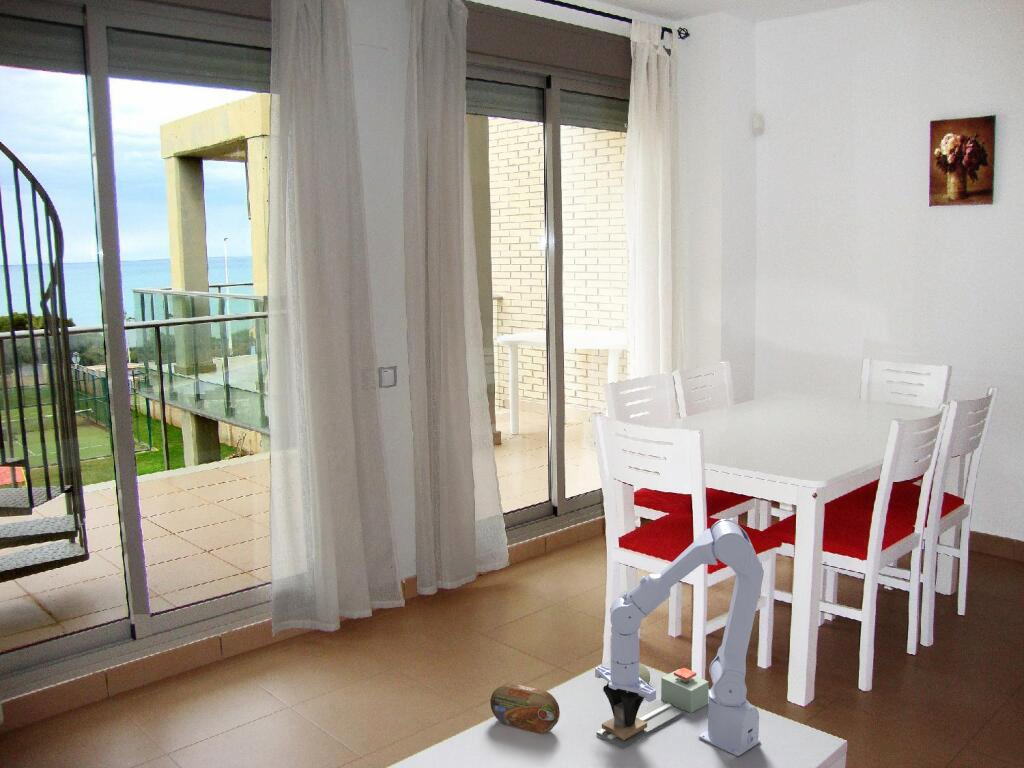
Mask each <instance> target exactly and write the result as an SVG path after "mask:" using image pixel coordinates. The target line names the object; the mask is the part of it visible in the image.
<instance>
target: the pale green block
mask: <svg viewBox="0 0 1024 768" xmlns="http://www.w3.org/2000/svg"><path fill="white" fill-rule="evenodd" d="M680 669H681V668H680ZM680 669H679V668H678V669H676V670H674V671H672V672H670V673H668V674H666V675H664V676H662V677H661V681H660V682H661V683H660V685H661V686H660V687H661V688H660V689H661V690H660V692H661V693H660V698H661V700H662V701H664V702H667V703H669V704H671V705H672V704H673V705H672V706H675V707H677V708H679V709H681V710H682V711H686V712H688V713H690V714H692V713H694V712H695V711H697V710H699V709H701V708H702V707H704V706H706V705H708V704H709V686H710V685H709V684H710V683H709V681H708V680H706V679H703V678H701V677H699V676H697V675H696V676H694V677H692V682H690V683H688V684H684V683H682V682H680V681H678V677H677V676H675V675H674V672H676V671H678V670H680Z"/></svg>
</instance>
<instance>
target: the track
mask: <svg viewBox="0 0 1024 768" xmlns="http://www.w3.org/2000/svg"><path fill="white" fill-rule="evenodd" d="M683 716H684V711H683V710H680V709H678V708H675V707H673V705H672V704H670V703H668V702H667V703H665V702H662V701H660V700H658V699H655V700H653V701H651V702H649V703H648V704H646V705H645V706H643V707H641V708H639V710H638V713H637V716H636V717H637V718H639V719H641V720H643V721H645V722H647V728H645V729H643V730H642V731H640V732H638V733H636V734H634V735H632V736H631V737H629V738H627V739H625V740H623V739H621V738H619V737H617V736H615V735H614V734H612V733H610V732H608V731H606V730H604V729H602V728H600V729H598V730H597V731H596V737H599V738H600V739H602V738H603V739H602V740H604V739H605V740H604V741H606V740H607V741H606V742H608V743H610V744H612V745H614V746H615V747H617V746H618V748H619V747H620V748H619V749H621V748H622V749H621V750H624V749H626V748H627V747H630V746H631V745H633V744H636V743H637V742H638V741H640V740H642V739H644V738H645V737H647V736H649V735H650V734H652V733H654V732H656V731H658V730H660V729H662V728H664V727H665V726H667V725H669V724H670V723H672V722H675V720H677V719H680V718H681V717H683Z"/></svg>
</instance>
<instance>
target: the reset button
mask: <svg viewBox="0 0 1024 768" xmlns="http://www.w3.org/2000/svg"><path fill="white" fill-rule="evenodd" d="M677 670H678V669H677ZM675 671H676V670H675ZM673 672H674V671H673ZM674 675H675V676H677V677H678V681H680V682H682V683H684V684H688V683H690V682H692V677H694V676H697V672H695V671H693V670H691V669H688V668H686V667H682V668H680V670H678V671H676V672H674Z"/></svg>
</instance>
